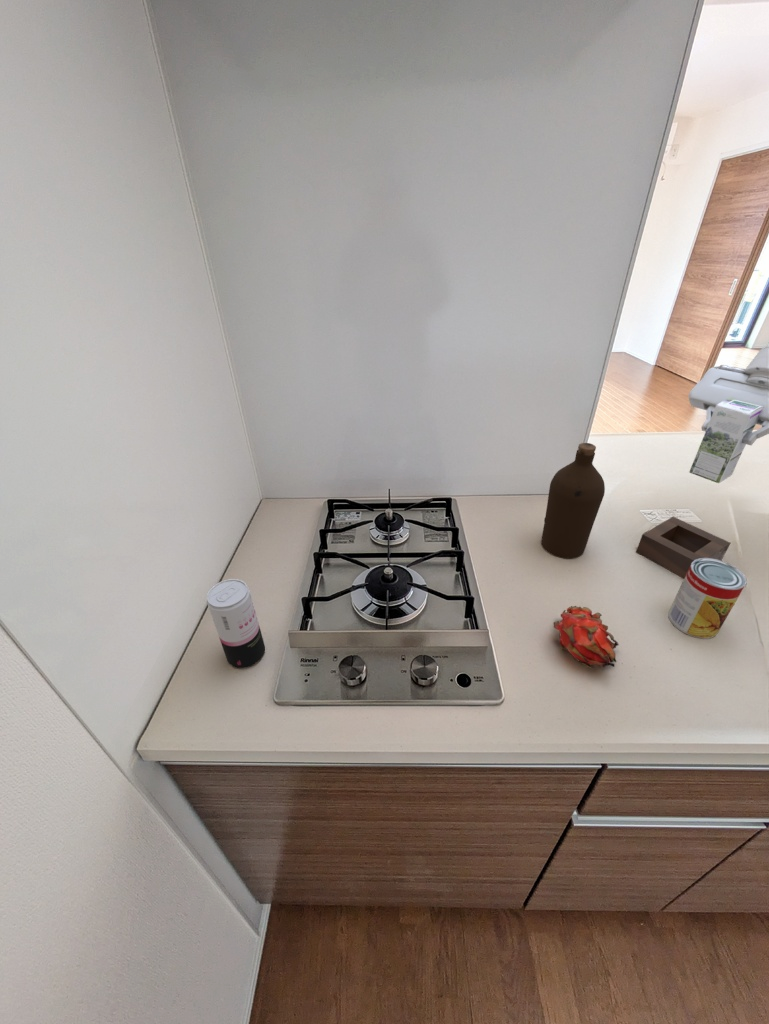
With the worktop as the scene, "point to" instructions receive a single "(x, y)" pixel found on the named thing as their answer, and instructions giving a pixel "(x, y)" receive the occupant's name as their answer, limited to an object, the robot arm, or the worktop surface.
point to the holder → (680, 545)
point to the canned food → (706, 597)
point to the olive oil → (573, 505)
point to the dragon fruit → (586, 637)
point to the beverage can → (236, 622)
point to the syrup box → (724, 439)
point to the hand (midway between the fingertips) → (725, 436)
